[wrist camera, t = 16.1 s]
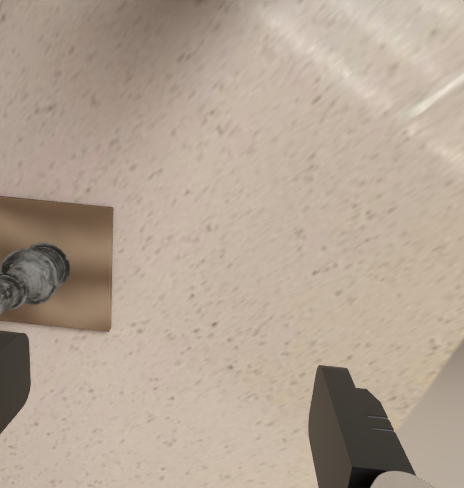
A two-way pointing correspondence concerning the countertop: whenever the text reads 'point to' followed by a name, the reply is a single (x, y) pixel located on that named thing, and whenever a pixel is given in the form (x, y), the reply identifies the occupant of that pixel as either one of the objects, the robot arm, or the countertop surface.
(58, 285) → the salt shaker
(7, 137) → the countertop surface
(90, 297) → the walnut pad
